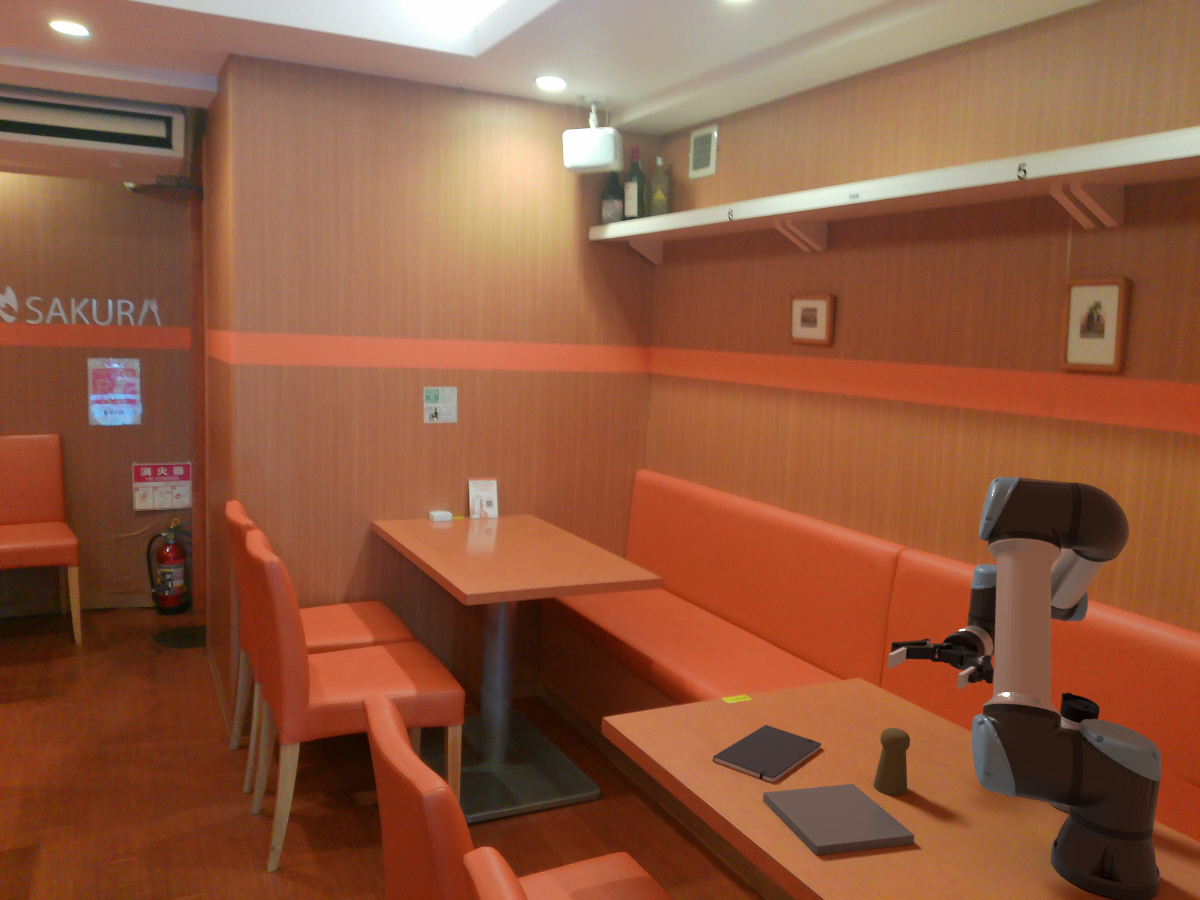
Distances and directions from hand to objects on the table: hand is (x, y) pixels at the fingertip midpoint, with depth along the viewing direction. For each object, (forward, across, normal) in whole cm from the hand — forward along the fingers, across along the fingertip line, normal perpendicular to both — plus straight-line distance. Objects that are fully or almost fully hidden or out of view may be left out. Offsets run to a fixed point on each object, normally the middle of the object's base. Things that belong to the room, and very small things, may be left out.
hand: (923, 671), depth 179 cm
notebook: (+15, +23, -21) cm, 34 cm away
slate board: (+29, +1, -20) cm, 35 cm away
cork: (+10, 0, -20) cm, 22 cm away
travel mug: (-9, -25, -20) cm, 33 cm away
